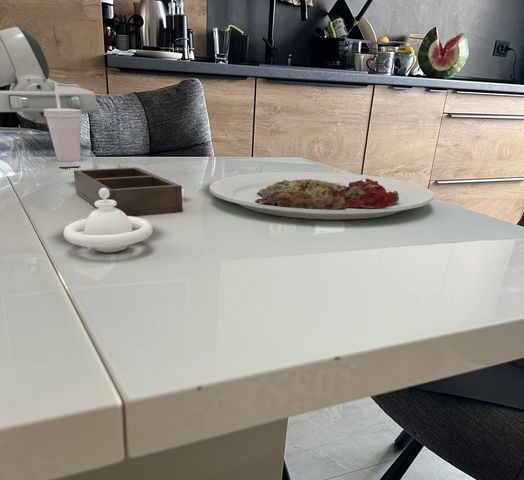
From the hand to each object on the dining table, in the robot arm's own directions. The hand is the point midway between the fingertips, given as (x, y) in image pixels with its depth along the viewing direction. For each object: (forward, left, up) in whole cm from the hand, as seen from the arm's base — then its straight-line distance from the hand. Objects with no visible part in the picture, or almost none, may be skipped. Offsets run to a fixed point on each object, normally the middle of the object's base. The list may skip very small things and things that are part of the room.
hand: (50, 102), depth 104 cm
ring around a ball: (-8, -68, -11) cm, 70 cm away
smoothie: (0, -11, -11) cm, 15 cm away
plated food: (+24, -56, -11) cm, 62 cm away
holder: (0, -46, -10) cm, 47 cm away
